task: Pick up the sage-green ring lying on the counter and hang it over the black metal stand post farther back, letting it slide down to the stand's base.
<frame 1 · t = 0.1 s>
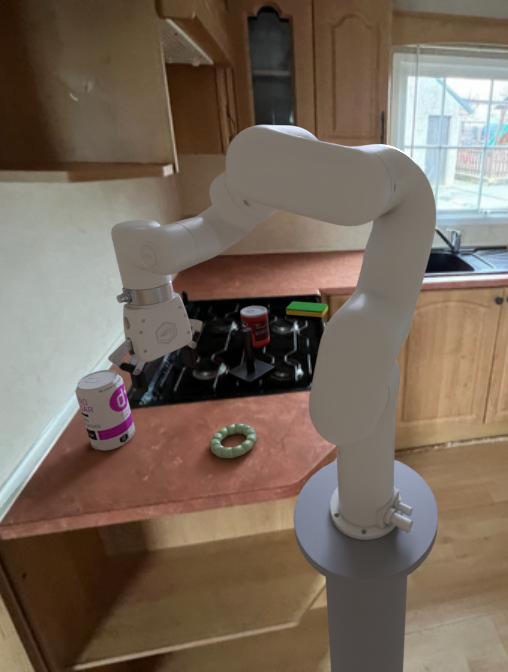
hand: (167, 377, 77), 18 cm above the worktop, tool pointing down, fingers open, 9 cm apart
dish sponge: (307, 312, 150), on the worktop
stand: (251, 373, 112), on the worktop
supplement can: (114, 439, 88), on the worktop
ring: (233, 440, 86), point 1 cm above the worktop
milk carton: (390, 279, 185), on the worktop
canned food: (257, 343, 129), on the worktop
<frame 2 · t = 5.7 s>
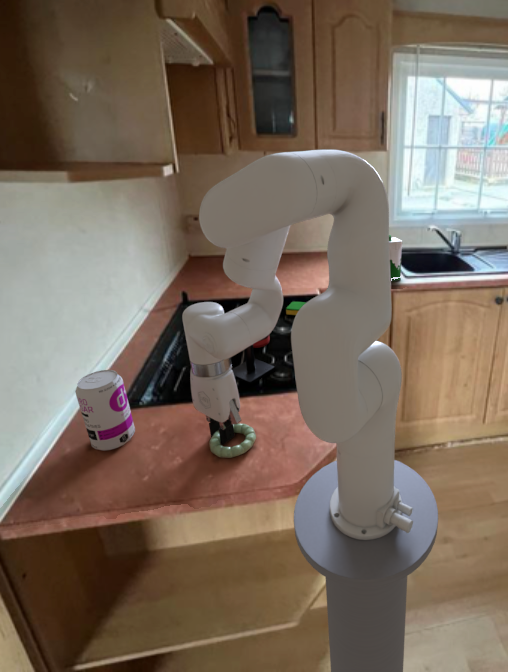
hand: (222, 436, 88), 0 cm above the worktop, tool pointing down, fingers closed on ring, 2 cm apart
ring: (233, 439, 86), point 1 cm above the worktop, touching gripper
everything else where it was.
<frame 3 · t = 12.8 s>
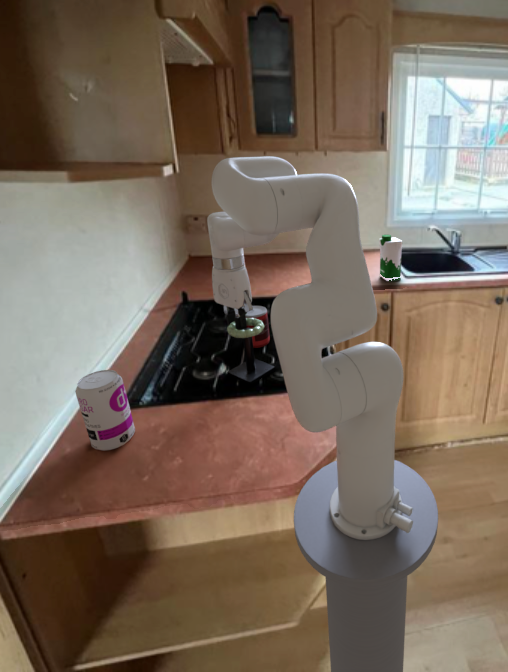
hand: (237, 327, 109), 13 cm above the worktop, tool pointing down, fingers closed on ring, 2 cm apart
ring: (245, 327, 107), point 14 cm above the worktop, touching gripper
everything else where it was.
when the fingers open (15 cm above the worktop, at t = 16.6 s): ring drops 13 cm, resting on stand.
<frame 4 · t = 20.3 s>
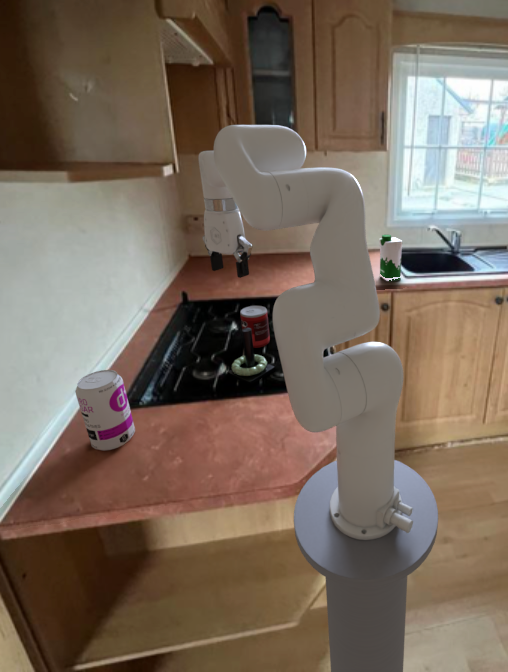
hand: (230, 272, 104), 28 cm above the worktop, tool pointing down, fingers open, 9 cm apart
ring: (249, 364, 112), point 2 cm above the worktop, touching stand
everything else where it was.
at the end: ring 0.8 cm off-centre on the stand, point 2.2 cm above the stand's base; the gripper is holding nothing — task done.
